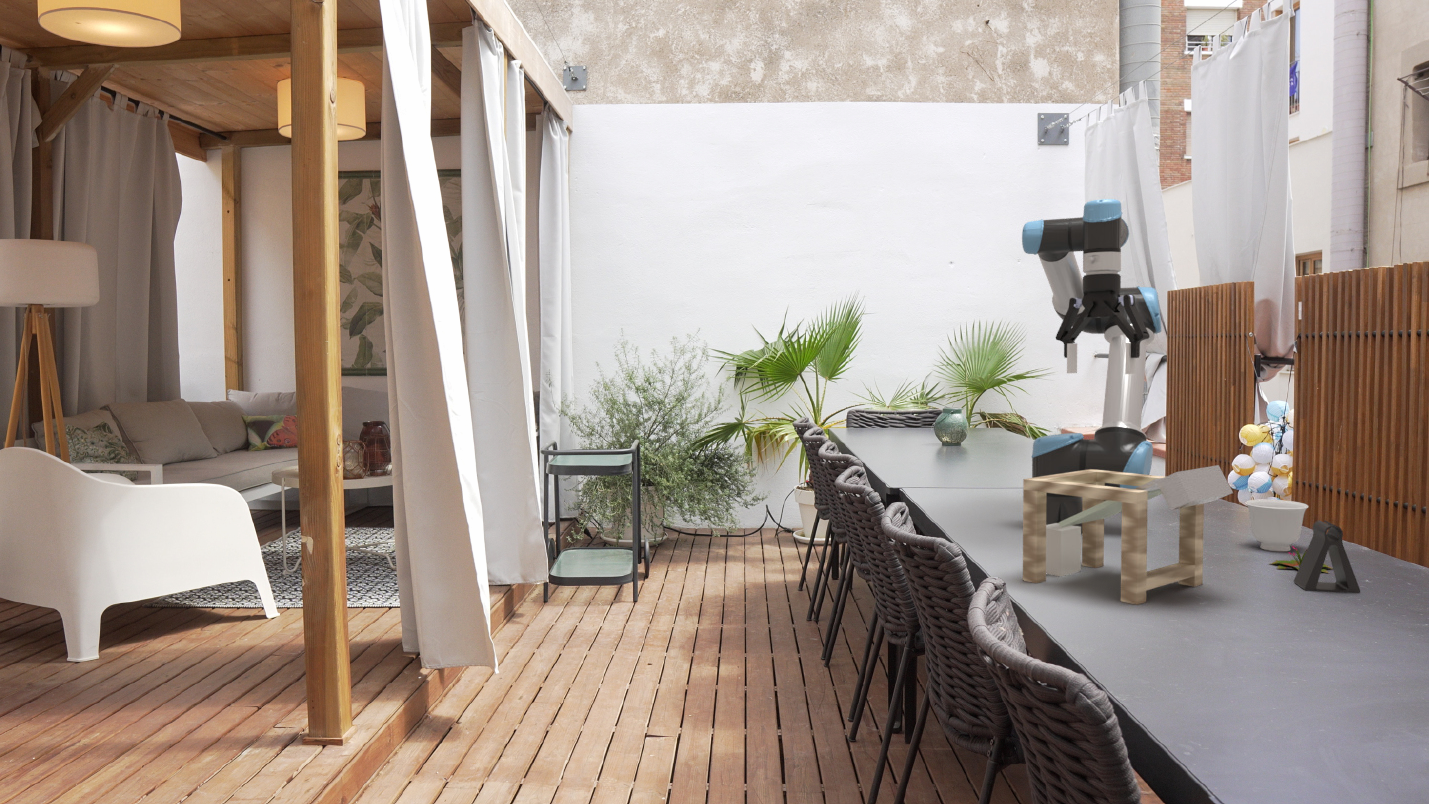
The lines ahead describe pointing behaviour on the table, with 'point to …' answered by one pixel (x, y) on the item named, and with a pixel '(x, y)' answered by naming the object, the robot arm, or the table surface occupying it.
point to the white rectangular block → (1063, 549)
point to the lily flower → (1295, 562)
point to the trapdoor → (1167, 493)
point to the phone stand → (1316, 557)
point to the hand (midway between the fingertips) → (1100, 373)
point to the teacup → (1276, 522)
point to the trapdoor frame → (1133, 530)
